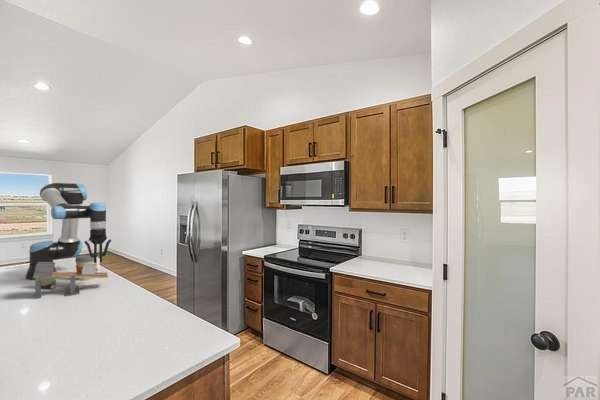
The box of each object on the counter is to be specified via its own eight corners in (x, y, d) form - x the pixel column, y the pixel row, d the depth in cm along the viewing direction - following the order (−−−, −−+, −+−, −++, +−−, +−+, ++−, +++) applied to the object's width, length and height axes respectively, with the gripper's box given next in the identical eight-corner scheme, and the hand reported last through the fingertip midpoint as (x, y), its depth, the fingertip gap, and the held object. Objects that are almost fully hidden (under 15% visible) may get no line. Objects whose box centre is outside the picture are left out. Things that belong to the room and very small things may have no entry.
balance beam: (34, 275, 145) (38, 261, 146) (106, 276, 165) (108, 263, 166) (32, 279, 138) (36, 264, 139) (107, 279, 158) (110, 266, 159)
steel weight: (81, 274, 156) (83, 263, 157) (94, 274, 160) (96, 263, 160) (81, 275, 152) (83, 265, 153) (94, 275, 156) (96, 265, 157)
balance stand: (37, 294, 147) (37, 276, 147) (79, 288, 158) (79, 271, 158) (34, 301, 138) (34, 282, 138) (79, 293, 149) (79, 276, 149)
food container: (63, 286, 161) (63, 270, 161) (53, 290, 155) (53, 272, 155) (45, 285, 162) (45, 269, 162) (34, 289, 156) (34, 272, 156)
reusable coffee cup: (78, 277, 181) (78, 254, 181) (101, 275, 186) (101, 253, 186) (72, 282, 169) (72, 258, 169) (96, 279, 175) (96, 257, 175)
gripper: (84, 229, 152) (84, 271, 152) (112, 228, 160) (111, 267, 160) (83, 228, 158) (83, 268, 158) (110, 227, 166) (110, 265, 166)
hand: (97, 268), depth 159 cm, fingers closed
